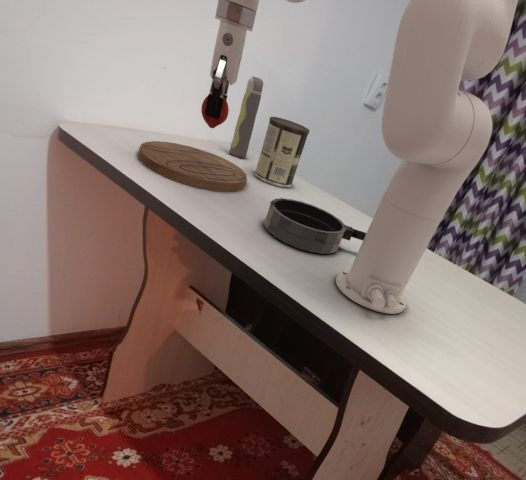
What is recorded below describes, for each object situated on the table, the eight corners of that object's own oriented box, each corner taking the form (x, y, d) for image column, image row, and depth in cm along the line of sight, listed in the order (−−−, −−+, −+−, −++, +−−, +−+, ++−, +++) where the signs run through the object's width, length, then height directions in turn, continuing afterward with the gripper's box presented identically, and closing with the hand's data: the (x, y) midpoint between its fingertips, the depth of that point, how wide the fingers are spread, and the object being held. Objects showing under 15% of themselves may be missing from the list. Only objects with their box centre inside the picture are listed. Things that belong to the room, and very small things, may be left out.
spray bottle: (240, 153, 134) (260, 77, 123) (248, 159, 131) (269, 82, 120) (226, 151, 131) (245, 73, 120) (233, 157, 128) (253, 77, 117)
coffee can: (277, 174, 127) (293, 120, 120) (298, 189, 121) (317, 133, 113) (246, 170, 121) (262, 113, 113) (268, 185, 115) (286, 126, 107)
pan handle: (396, 255, 92) (401, 246, 91) (340, 237, 91) (344, 227, 90) (394, 251, 94) (398, 241, 93) (339, 233, 93) (343, 223, 92)
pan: (341, 263, 87) (350, 241, 84) (262, 238, 85) (269, 215, 82) (334, 234, 100) (342, 214, 97) (265, 212, 98) (271, 191, 95)
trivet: (117, 145, 105) (118, 136, 104) (205, 153, 122) (206, 146, 121) (178, 190, 92) (180, 180, 91) (265, 193, 109) (268, 185, 108)
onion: (219, 134, 99) (229, 93, 94) (194, 124, 99) (202, 83, 94) (226, 131, 103) (235, 92, 99) (202, 122, 103) (210, 83, 99)
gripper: (250, 22, 83) (226, 126, 93) (256, 24, 97) (234, 115, 107) (210, 7, 82) (189, 114, 92) (222, 11, 96) (203, 104, 106)
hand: (214, 114), depth 99 cm, fingers closed on onion, 5 cm apart
